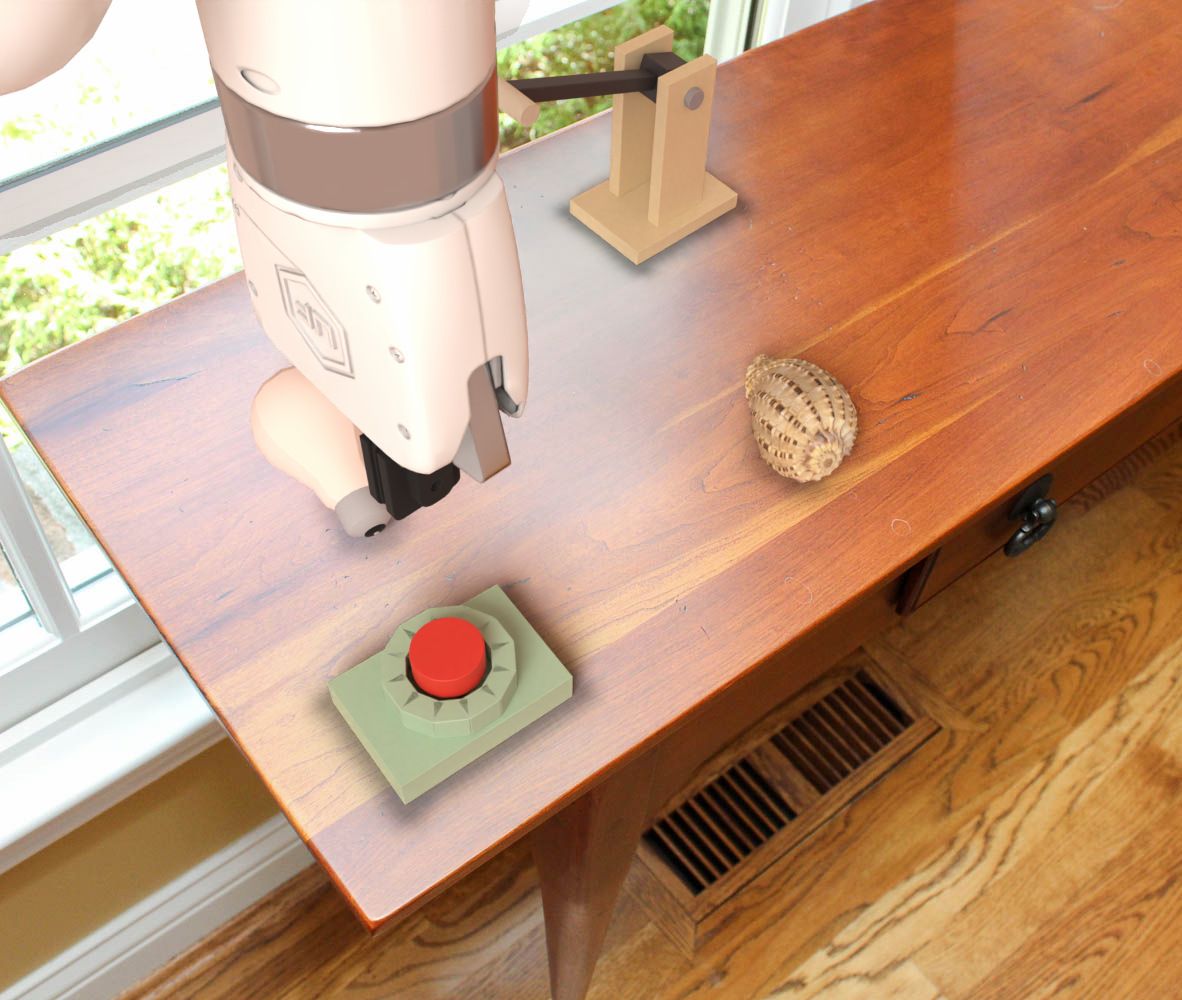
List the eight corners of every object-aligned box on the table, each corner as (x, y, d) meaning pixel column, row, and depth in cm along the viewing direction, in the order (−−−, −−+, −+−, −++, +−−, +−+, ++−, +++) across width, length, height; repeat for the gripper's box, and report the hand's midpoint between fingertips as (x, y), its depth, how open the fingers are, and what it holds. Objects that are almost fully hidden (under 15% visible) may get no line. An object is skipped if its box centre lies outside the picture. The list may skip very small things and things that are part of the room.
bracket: (636, 265, 85) (647, 109, 75) (569, 212, 87) (570, 54, 77) (736, 206, 90) (758, 52, 80) (670, 158, 92) (683, 2, 82)
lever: (516, 136, 69) (525, 96, 67) (459, 92, 71) (467, 53, 69) (699, 112, 81) (710, 77, 79) (647, 75, 82) (657, 41, 81)
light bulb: (422, 487, 66) (325, 323, 68) (308, 548, 64) (212, 378, 66) (437, 520, 72) (348, 370, 74) (334, 577, 70) (246, 421, 72)
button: (437, 711, 59) (434, 694, 58) (398, 658, 61) (394, 641, 59) (500, 672, 61) (499, 655, 60) (461, 622, 62) (458, 604, 61)
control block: (405, 805, 60) (396, 771, 57) (332, 702, 63) (320, 664, 60) (572, 696, 65) (573, 659, 62) (498, 604, 67) (495, 564, 64)
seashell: (708, 452, 79) (805, 509, 72) (692, 370, 76) (792, 421, 69) (801, 405, 83) (902, 455, 76) (789, 325, 79) (894, 369, 72)
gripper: (94, 18, 35) (225, 427, 50) (420, 307, 30) (459, 668, 45) (319, -58, 39) (380, 342, 54) (641, 188, 34) (611, 555, 49)
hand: (416, 489), depth 49 cm, fingers closed
